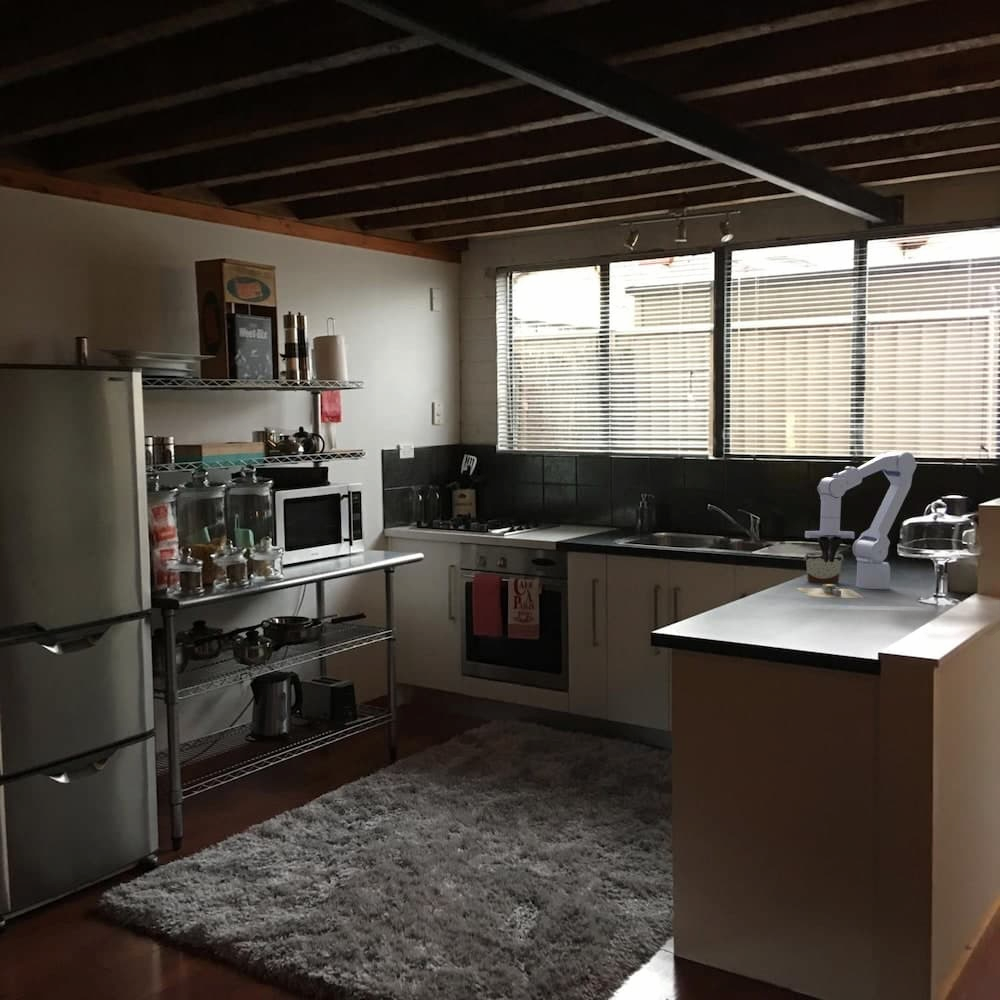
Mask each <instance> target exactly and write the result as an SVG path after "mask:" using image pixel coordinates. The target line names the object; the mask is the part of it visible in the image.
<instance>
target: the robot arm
mask: <svg viewBox="0 0 1000 1000" xmlns="http://www.w3.org/2000/svg"><path fill="white" fill-rule="evenodd" d="M916 468H917V462H916V459H915V456H914V455H913V454H912V453H911V452H898V451H897V452H895V451H887V450H886V451H884V452H883V453H879V454H878V455H877V456H876V457H874V458H872V459H871V460H868V461H866V463H863V464H862V465H860V466H858V467H855V466H845V467H844V470H842V471H840V472H837V473H836V472H835V473H833V474H832V476H831V477H823V478H821V480H820V482H819V484H818V485H817V486H816V487H817V489H816V490H817V492H818V494H819V496H820V497H819V499H820V523H819V530H805V531H804V538H806V539H811V538H812V539H817V540H816V541H817V543H818V544H819V547H820V550H821V552H822V554H823V559H824V562H828V560H829V561H830V562H834V558H835V555H836V553H837V552H838V550H839V548H840V546H841V544H842V542H843V539H855V531H849V530H847V531H846V530H841V528H840V527H841V509H842V508H841V507H842V496H844V495H845V493H846V491H848V490H850V489H852V488H854V487H856V486H858V485H860V484H861V483H862V482H863V478H866V477H867V476H869V475H872V474H875V473H877V472H879V471H882V472H883V474H884V475H885V477H886V478H887V480H888V481H889V483H890V486H889V488H888V489H887V492H886V494H885V496H884V498H883V500H882V502H881V505H880V506H879V507H878V509H877V512H876V514H875V516H874V518H873V520H872V522H871V524H870V527H869V528H868V529H866V530H865V531H863V532H862V533H861V534H860V536H859V537H858V539H856V540H854V543H853V544H852V554H853V555H854V557H856V558H855V560H856V564H857V565H856V585H855V586H856V588H860V589H865V590H868V589H869V590H872V589H873V590H890V587H891V586H890V581H891V566H890V564H889V562H887V561H886V562H885V561H884V560H886V558H887V556H888V554H889V547H890V544H891V542H890V539H889V538H888V534H889V532H890V530H891V528H892V526H893V523H894V522H895V520H896V517H897V515H898V513H899V511H900V510H901V507H902V505H903V502H904V501H905V498H906V497H907V495H908V493H909V491H910V488H911V486H912V482H913V481H912V480H913V476H914V472H915V470H916Z"/></svg>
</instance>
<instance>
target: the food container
mask: <svg viewBox="0 0 1000 1000" xmlns="http://www.w3.org/2000/svg"><path fill="white" fill-rule="evenodd" d="M803 561H805V567H806V580H807V583H815V584H816V583H817V584H818V583H819V584H820V583H822V584H823V583H824V584H839V583H840V577H841V569H842V563H843V562H845V560H844V556H843V554H841V553H837V552H836V555H835V558H834V562H830V561H829V560H828V562H824V559H823V554H822V551H821V552H820V551H815V552H814V551H811V552H806V553H805V555H804V557H803Z"/></svg>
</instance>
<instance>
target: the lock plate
mask: <svg viewBox="0 0 1000 1000" xmlns="http://www.w3.org/2000/svg"><path fill="white" fill-rule="evenodd" d="M824 584H825V586H828V588H833V587H837V585H836V584H835V583H824ZM796 589H798V590H799V591H800V592H801V593H803V594H804V595H806V596H807V597H809V598H835V599H836V598H838V599H840V598H843V599H844V598H845V599H865V597H864V596H862V595H861V594H859V593H858V592H856V591H854V590H853V589H851V588H839V590H840V591H841V596H834V595H832V594H827V593H824V590H822V587H821V588H818V587H817V588H816V587H815V588H814V587H812V588H811V587H810V588H809V587H797V588H796Z"/></svg>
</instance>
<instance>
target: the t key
mask: <svg viewBox="0 0 1000 1000" xmlns="http://www.w3.org/2000/svg"><path fill="white" fill-rule="evenodd" d="M825 584H826V583H824V584H823V583H822V584H821V588H822V590H824V593H827V594H832V595H834V596H841V591H840V590H839V589H840V587H837V586H835V587H833V588H828V586H825Z"/></svg>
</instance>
